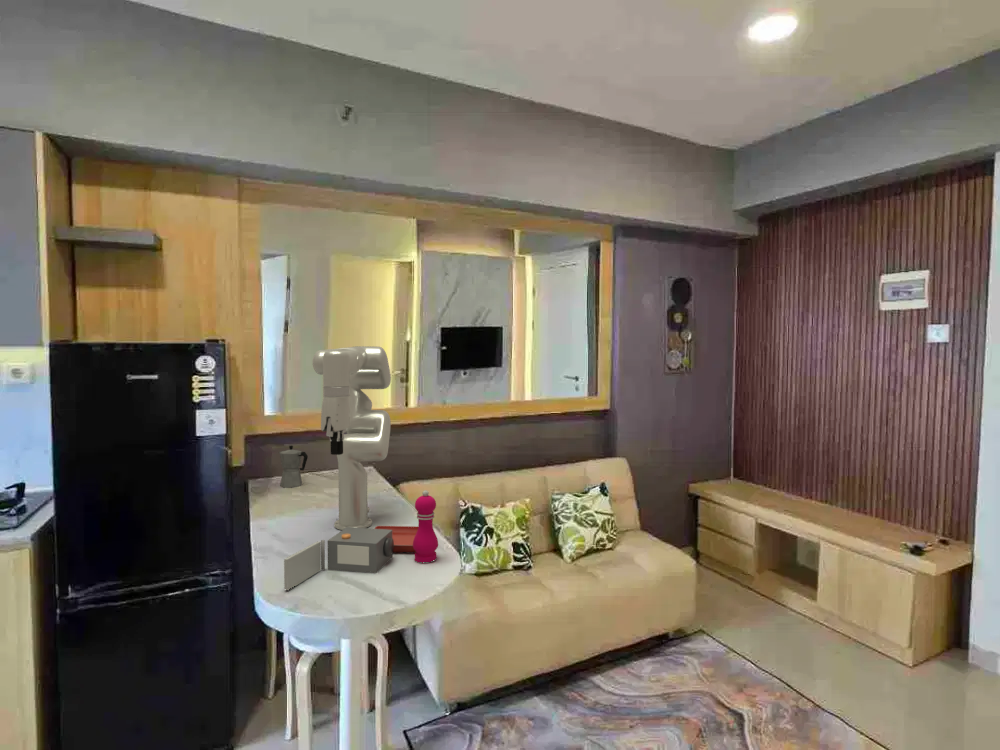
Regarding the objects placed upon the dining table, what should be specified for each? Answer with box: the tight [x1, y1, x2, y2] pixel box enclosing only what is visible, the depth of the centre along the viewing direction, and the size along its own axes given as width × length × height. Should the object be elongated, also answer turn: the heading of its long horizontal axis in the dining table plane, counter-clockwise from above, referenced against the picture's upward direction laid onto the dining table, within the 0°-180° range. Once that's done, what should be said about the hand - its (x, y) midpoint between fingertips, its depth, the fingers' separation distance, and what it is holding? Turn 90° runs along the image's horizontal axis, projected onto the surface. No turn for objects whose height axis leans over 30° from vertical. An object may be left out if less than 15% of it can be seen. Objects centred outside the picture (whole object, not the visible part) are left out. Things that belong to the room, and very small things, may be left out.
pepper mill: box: [413, 490, 439, 564], centre depth 158 cm, size 7×7×20 cm
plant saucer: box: [374, 525, 418, 553], centre depth 171 cm, size 18×18×3 cm
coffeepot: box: [278, 445, 309, 489], centre depth 247 cm, size 15×9×18 cm, turn 70°
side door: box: [283, 539, 326, 591], centre depth 144 cm, size 2×15×8 cm, turn 163°
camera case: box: [327, 527, 394, 574], centre depth 155 cm, size 12×15×9 cm
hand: (336, 454), depth 164 cm, fingers closed
